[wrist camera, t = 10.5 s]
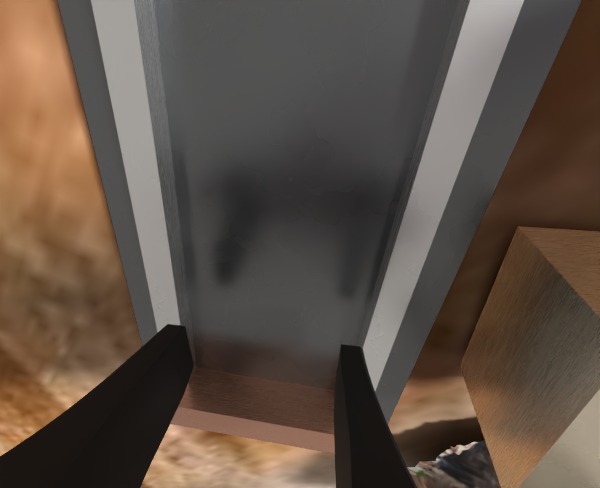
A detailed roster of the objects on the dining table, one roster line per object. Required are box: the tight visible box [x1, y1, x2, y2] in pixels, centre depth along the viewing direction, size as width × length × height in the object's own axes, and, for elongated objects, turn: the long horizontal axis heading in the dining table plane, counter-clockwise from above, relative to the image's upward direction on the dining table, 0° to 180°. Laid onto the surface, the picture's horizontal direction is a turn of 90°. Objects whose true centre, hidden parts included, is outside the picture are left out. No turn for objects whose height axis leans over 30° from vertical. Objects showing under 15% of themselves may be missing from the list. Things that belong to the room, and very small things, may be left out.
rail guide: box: [58, 0, 582, 454], centre depth 10 cm, size 12×21×3 cm, turn 174°
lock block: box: [460, 226, 600, 488], centre depth 10 cm, size 4×7×5 cm, turn 0°
